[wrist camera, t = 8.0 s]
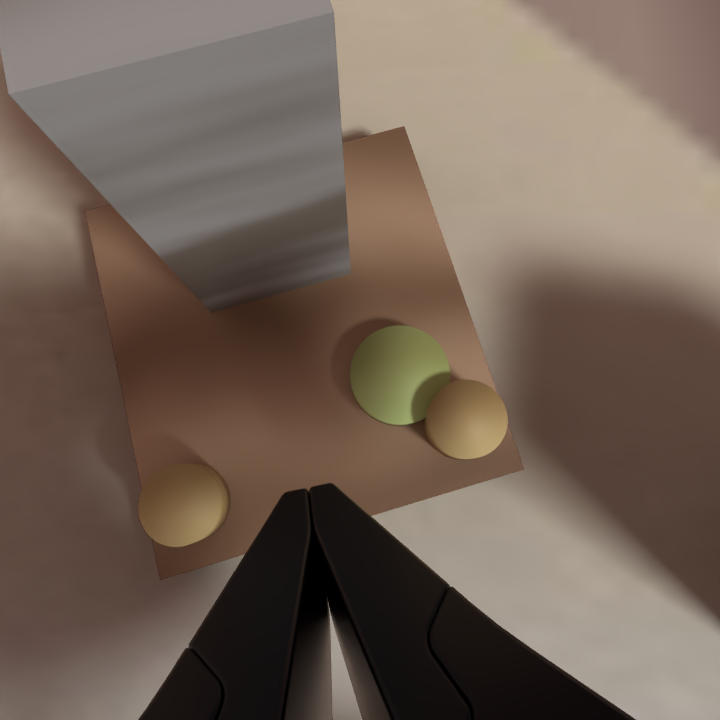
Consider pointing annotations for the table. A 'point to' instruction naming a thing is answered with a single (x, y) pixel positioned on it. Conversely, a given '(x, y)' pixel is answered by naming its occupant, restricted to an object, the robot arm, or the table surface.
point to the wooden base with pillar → (256, 266)
